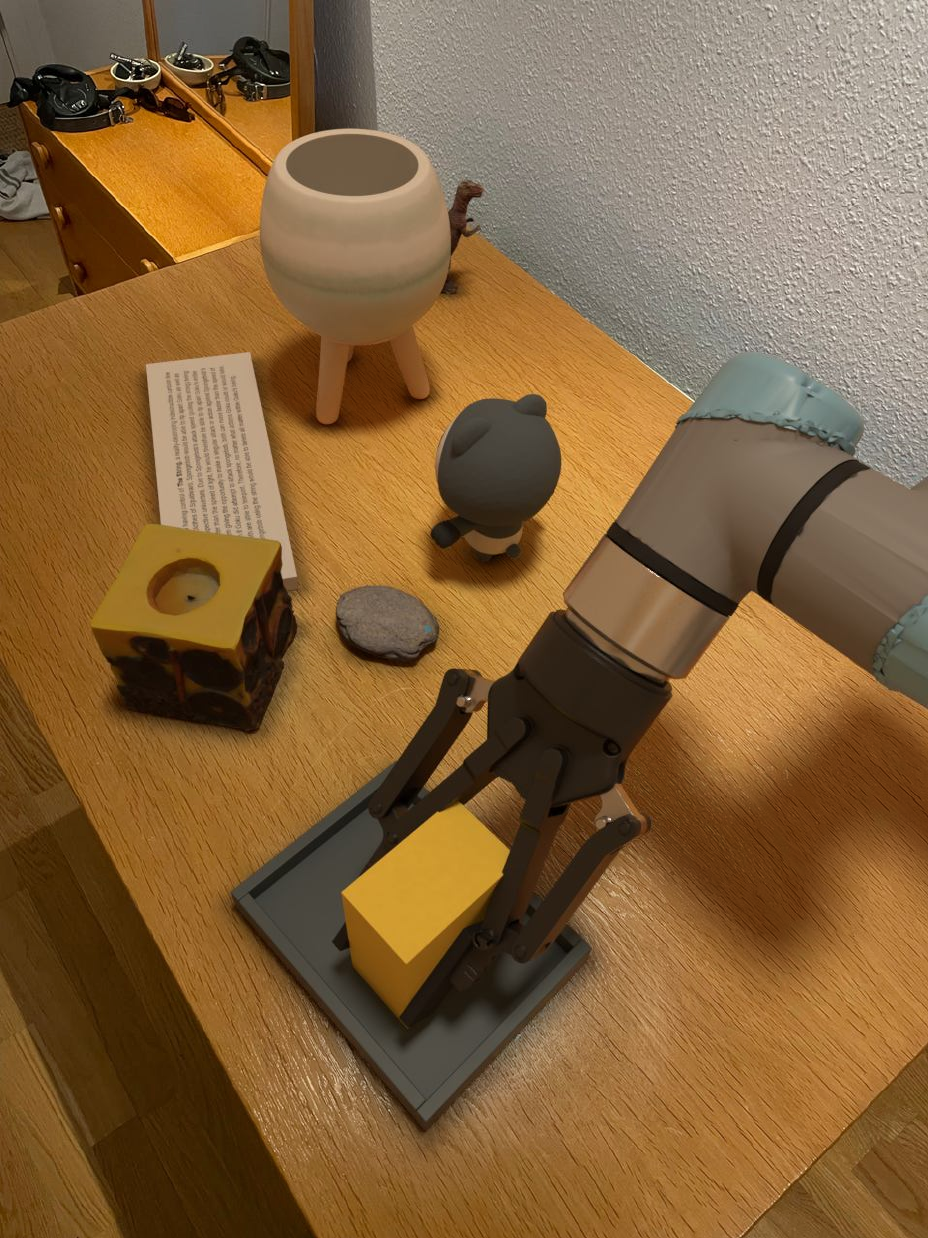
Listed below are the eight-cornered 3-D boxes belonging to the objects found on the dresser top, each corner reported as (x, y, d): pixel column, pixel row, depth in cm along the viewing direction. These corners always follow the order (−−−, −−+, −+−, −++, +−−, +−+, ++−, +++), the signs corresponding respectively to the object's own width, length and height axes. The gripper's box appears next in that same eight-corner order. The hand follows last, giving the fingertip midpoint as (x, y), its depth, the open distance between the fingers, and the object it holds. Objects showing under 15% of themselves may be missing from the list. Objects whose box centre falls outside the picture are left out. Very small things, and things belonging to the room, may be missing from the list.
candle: (299, 627, 74) (286, 538, 66) (259, 736, 67) (239, 651, 60) (174, 606, 74) (146, 516, 67) (123, 711, 68) (86, 625, 60)
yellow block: (504, 936, 58) (520, 859, 49) (407, 1029, 54) (406, 964, 46) (449, 879, 60) (454, 796, 52) (352, 966, 57) (340, 892, 48)
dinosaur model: (487, 182, 96) (343, 206, 93) (488, 289, 104) (356, 313, 102) (475, 166, 98) (334, 189, 96) (477, 271, 107) (348, 295, 104)
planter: (291, 455, 86) (260, 221, 69) (271, 351, 96) (240, 123, 79) (462, 434, 89) (475, 204, 72) (426, 335, 99) (430, 112, 81)
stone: (380, 579, 77) (379, 560, 76) (454, 634, 74) (455, 615, 72) (318, 625, 74) (315, 606, 72) (392, 685, 70) (392, 667, 69)
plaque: (296, 576, 75) (167, 597, 73) (298, 588, 76) (171, 610, 74) (249, 351, 93) (145, 364, 91) (251, 364, 94) (149, 376, 92)
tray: (587, 961, 58) (592, 947, 56) (425, 1132, 52) (425, 1123, 50) (396, 776, 66) (396, 759, 64) (235, 906, 59) (229, 891, 58)
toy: (503, 487, 85) (518, 344, 73) (578, 558, 80) (606, 416, 68) (395, 538, 80) (393, 394, 68) (467, 617, 75) (477, 476, 63)
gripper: (779, 752, 48) (525, 1079, 53) (520, 557, 55) (321, 859, 60) (748, 760, 41) (461, 1133, 46) (459, 538, 49) (241, 878, 54)
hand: (382, 977), depth 53 cm, fingers closed on yellow block, 5 cm apart
